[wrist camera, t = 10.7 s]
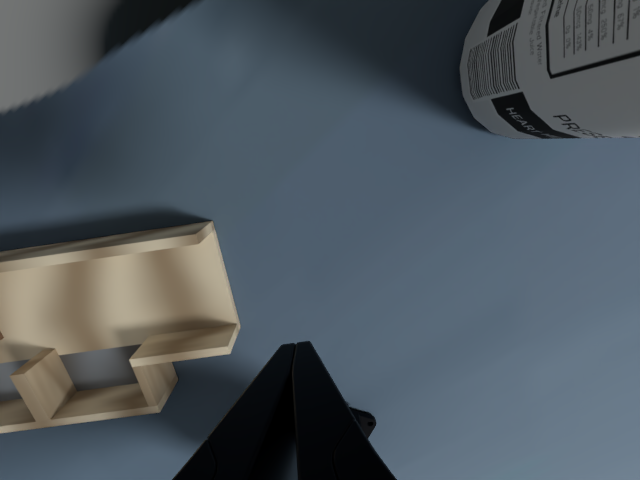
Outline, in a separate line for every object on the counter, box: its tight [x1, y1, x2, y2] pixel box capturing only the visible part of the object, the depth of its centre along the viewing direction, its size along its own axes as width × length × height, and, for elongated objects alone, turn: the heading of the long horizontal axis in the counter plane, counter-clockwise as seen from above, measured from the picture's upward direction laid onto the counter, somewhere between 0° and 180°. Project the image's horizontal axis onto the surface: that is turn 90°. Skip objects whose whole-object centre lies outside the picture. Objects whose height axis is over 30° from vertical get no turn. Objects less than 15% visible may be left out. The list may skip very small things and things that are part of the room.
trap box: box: [0, 221, 241, 433], centre depth 20 cm, size 24×12×3 cm, turn 98°
